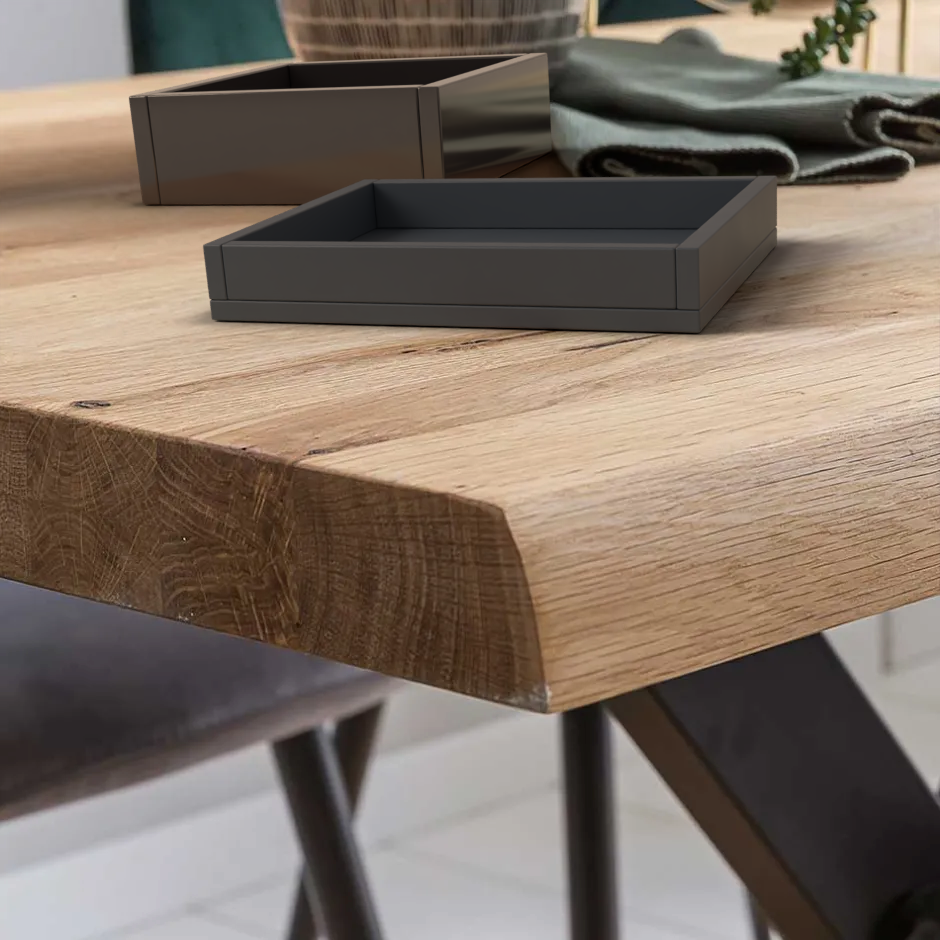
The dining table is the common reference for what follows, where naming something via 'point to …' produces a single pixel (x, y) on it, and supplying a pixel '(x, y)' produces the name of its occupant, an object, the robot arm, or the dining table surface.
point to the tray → (502, 253)
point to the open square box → (339, 127)
